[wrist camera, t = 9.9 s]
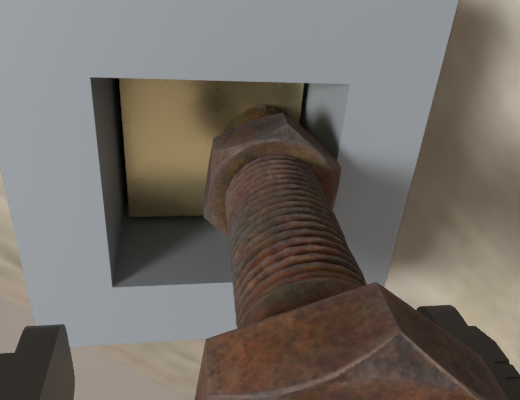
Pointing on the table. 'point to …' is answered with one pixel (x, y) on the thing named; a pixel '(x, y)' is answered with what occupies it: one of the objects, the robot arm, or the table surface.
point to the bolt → (312, 287)
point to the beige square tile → (184, 135)
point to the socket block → (195, 68)
